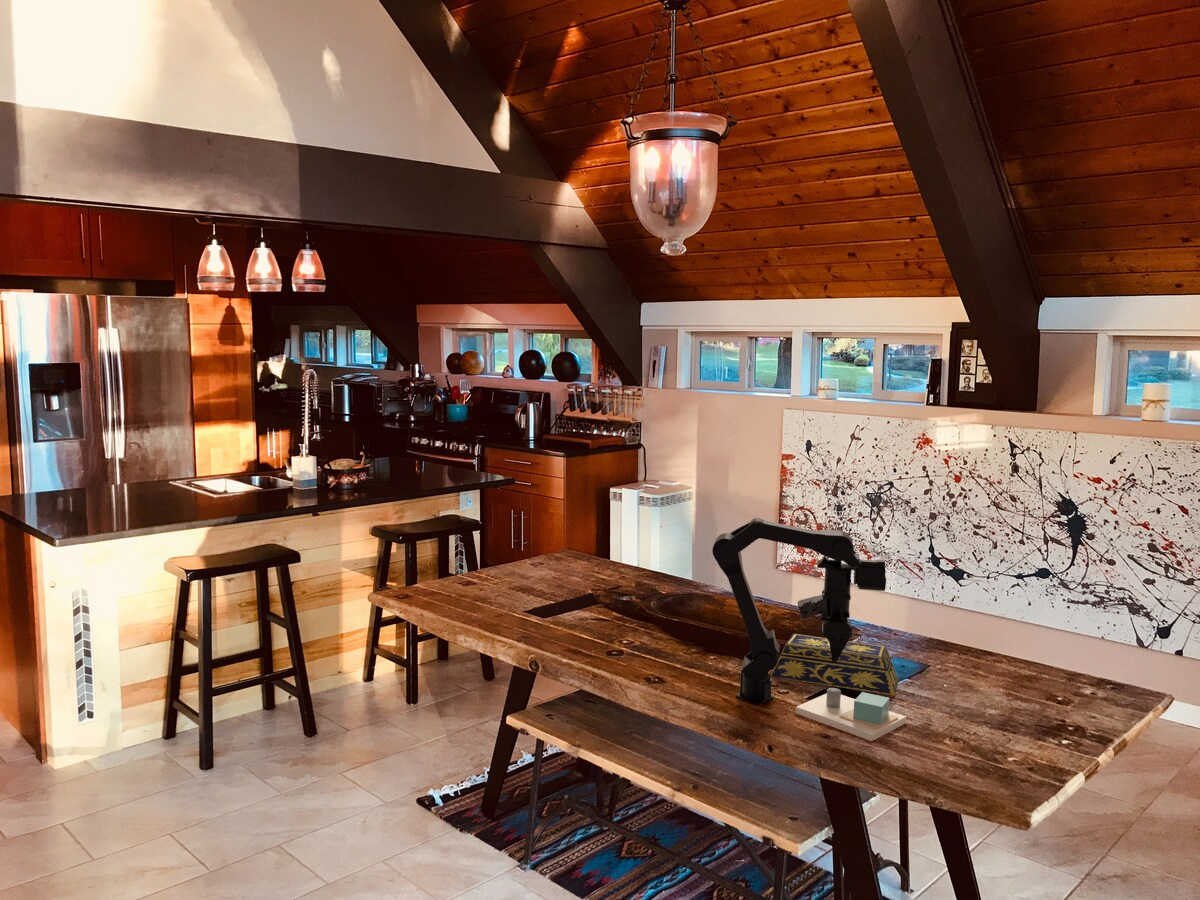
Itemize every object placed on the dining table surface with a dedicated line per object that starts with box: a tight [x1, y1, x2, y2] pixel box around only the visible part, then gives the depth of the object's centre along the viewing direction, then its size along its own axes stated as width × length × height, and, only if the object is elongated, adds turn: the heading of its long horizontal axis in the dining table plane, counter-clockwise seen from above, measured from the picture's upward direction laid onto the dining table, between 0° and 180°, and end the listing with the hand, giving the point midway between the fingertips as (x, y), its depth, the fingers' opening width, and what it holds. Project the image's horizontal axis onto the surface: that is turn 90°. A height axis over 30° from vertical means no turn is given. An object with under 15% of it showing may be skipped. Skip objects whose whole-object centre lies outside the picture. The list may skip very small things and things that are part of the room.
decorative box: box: [770, 633, 899, 696], centre depth 234 cm, size 11×30×9 cm, turn 68°
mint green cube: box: [853, 691, 890, 725], centre depth 206 cm, size 6×6×4 cm
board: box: [795, 687, 907, 742], centre depth 210 cm, size 19×14×5 cm
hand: (833, 654), depth 216 cm, fingers open, 9 cm apart
